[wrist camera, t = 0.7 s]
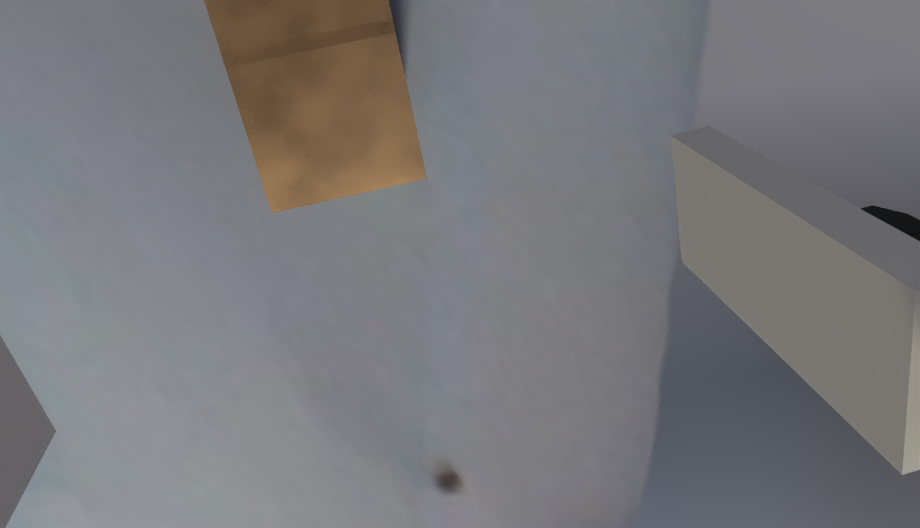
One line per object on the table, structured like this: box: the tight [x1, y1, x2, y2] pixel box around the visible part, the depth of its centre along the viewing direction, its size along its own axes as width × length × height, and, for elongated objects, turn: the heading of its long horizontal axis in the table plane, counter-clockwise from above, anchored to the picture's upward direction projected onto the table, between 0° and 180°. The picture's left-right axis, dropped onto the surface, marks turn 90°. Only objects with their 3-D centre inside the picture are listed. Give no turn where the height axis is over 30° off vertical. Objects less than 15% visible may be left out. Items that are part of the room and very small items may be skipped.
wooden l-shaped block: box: [204, 0, 427, 213], centre depth 31 cm, size 6×12×12 cm, turn 10°
